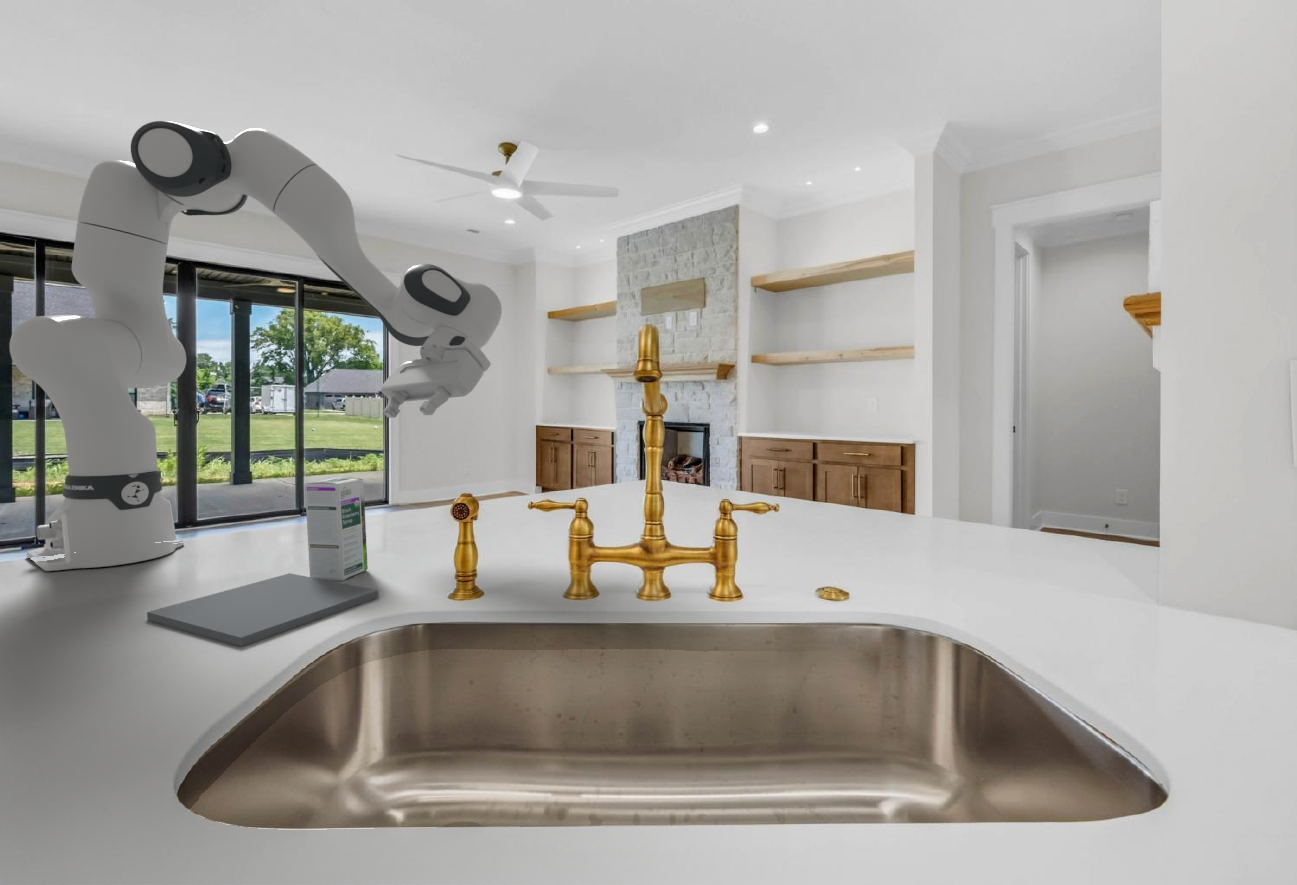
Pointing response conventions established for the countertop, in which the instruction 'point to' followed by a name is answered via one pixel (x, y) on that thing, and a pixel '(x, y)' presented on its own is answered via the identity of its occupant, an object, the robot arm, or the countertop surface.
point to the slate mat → (261, 608)
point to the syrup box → (336, 528)
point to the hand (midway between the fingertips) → (406, 414)
